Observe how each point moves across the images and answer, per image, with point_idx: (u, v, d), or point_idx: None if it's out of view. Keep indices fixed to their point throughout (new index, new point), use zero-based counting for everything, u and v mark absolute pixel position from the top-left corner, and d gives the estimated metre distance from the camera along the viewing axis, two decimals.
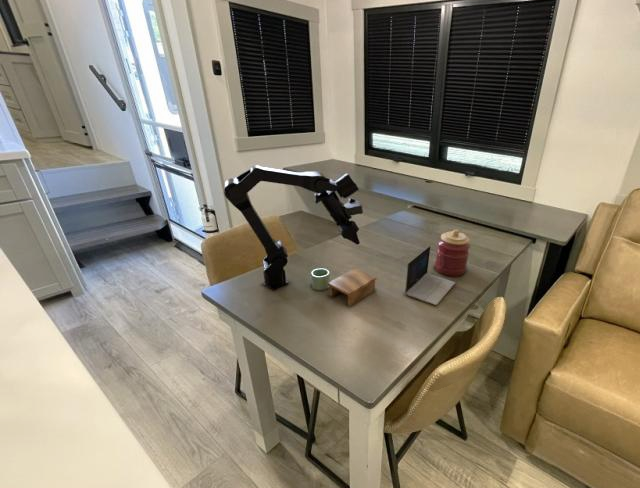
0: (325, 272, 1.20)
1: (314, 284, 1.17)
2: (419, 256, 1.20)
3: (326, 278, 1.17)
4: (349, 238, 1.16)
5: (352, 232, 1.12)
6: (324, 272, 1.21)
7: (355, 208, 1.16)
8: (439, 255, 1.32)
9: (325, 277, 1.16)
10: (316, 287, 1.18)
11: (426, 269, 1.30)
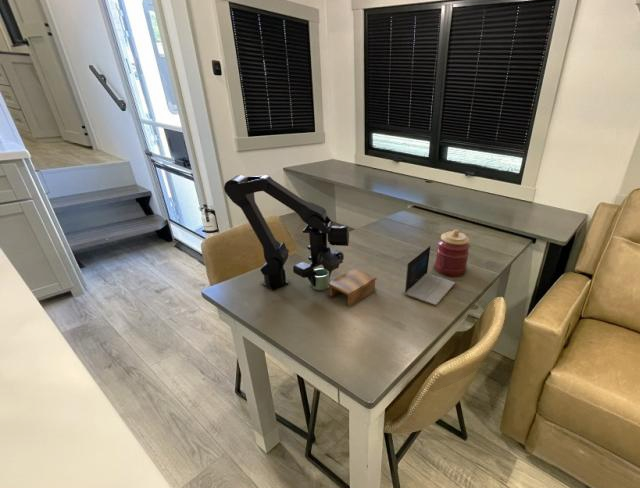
0: (325, 272, 1.20)
1: None
2: (419, 256, 1.20)
3: (326, 278, 1.17)
4: None
5: (299, 274, 1.09)
6: (324, 272, 1.21)
7: (325, 262, 1.10)
8: (439, 255, 1.32)
9: (325, 277, 1.16)
10: (316, 287, 1.18)
11: (426, 269, 1.30)
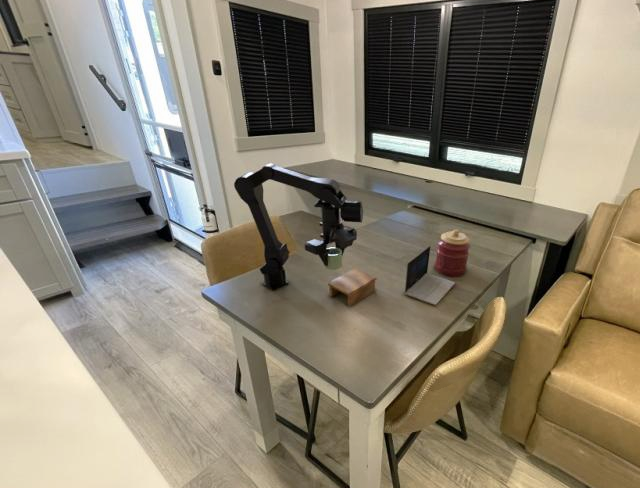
0: (337, 251, 1.15)
1: None
2: (419, 256, 1.20)
3: (339, 257, 1.11)
4: None
5: (311, 251, 1.03)
6: (336, 251, 1.15)
7: (339, 238, 1.04)
8: (439, 255, 1.32)
9: (338, 256, 1.11)
10: (328, 266, 1.12)
11: (426, 269, 1.30)
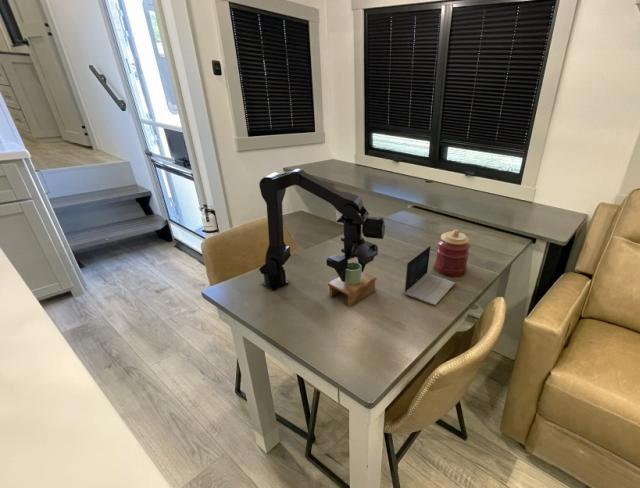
0: (357, 266, 1.15)
1: (346, 278, 1.12)
2: (419, 256, 1.20)
3: (359, 272, 1.11)
4: (336, 269, 1.08)
5: (333, 266, 1.03)
6: (356, 266, 1.15)
7: (361, 254, 1.04)
8: (439, 255, 1.32)
9: (358, 271, 1.11)
10: (348, 281, 1.12)
11: (426, 269, 1.30)
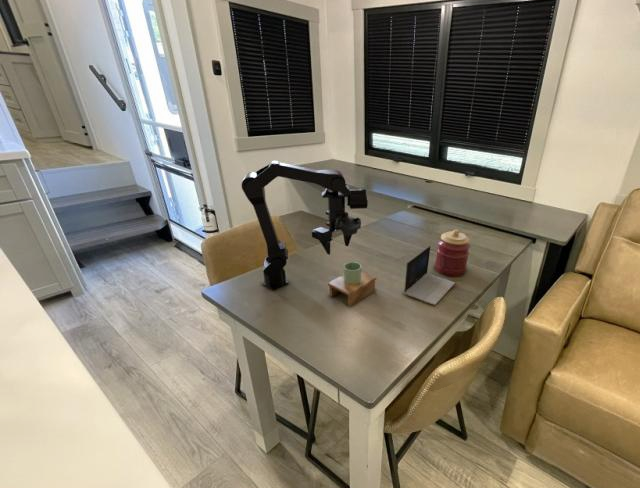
0: (357, 266, 1.15)
1: (346, 278, 1.12)
2: (418, 256, 1.20)
3: (359, 272, 1.11)
4: (321, 241, 1.14)
5: (318, 238, 1.09)
6: (356, 266, 1.15)
7: (344, 226, 1.10)
8: (439, 255, 1.32)
9: (358, 271, 1.11)
10: (348, 281, 1.12)
11: (426, 269, 1.30)
